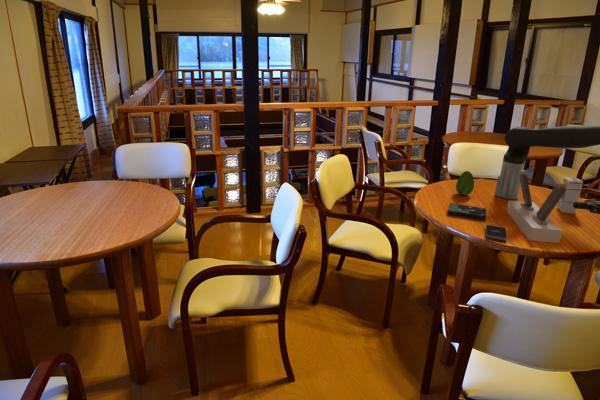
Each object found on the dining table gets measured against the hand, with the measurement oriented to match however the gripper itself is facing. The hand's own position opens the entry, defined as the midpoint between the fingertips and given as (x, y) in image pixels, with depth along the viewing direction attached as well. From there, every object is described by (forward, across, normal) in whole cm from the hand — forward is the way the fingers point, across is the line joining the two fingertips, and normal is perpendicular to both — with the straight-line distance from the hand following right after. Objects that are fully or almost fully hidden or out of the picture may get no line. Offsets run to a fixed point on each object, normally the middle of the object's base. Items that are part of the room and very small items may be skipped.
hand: (573, 204), depth 150 cm
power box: (+10, -8, +12) cm, 18 cm away
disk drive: (+33, -15, +13) cm, 38 cm away
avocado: (+30, -41, +13) cm, 52 cm away
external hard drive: (+26, +6, +13) cm, 30 cm away
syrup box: (-12, -30, +13) cm, 35 cm away
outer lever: (+10, 0, +6) cm, 11 cm away
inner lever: (+10, -15, +6) cm, 19 cm away
